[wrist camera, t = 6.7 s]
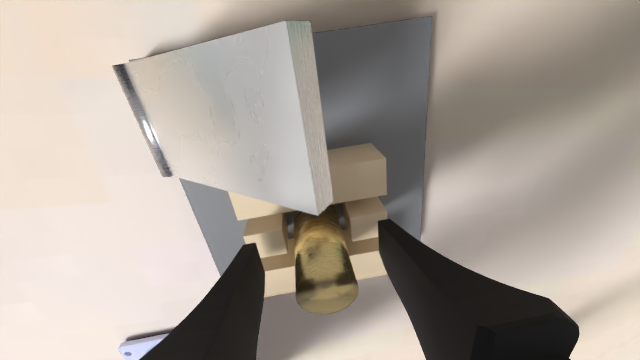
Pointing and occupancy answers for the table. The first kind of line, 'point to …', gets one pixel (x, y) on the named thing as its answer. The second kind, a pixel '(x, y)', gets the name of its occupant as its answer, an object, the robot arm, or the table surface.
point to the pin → (322, 263)
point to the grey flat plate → (237, 115)
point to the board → (353, 114)
